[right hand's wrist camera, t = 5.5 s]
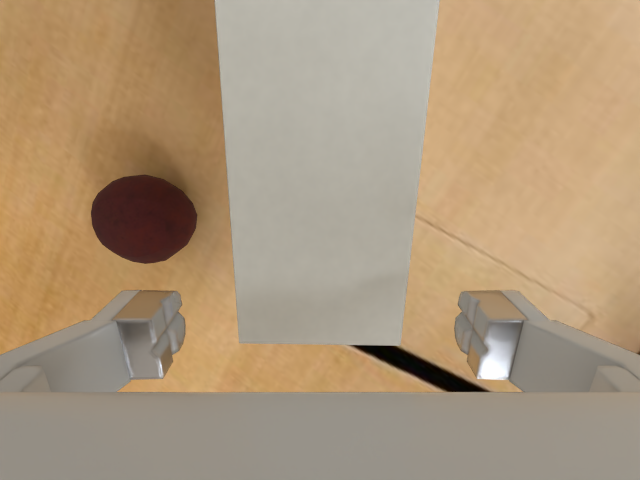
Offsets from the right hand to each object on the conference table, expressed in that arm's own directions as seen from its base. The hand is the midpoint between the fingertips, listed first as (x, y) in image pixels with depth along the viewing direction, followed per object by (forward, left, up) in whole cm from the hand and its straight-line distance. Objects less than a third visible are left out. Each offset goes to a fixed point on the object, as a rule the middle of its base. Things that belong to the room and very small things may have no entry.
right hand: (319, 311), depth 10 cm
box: (+10, 0, -13) cm, 16 cm away
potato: (-3, +14, -23) cm, 27 cm away
